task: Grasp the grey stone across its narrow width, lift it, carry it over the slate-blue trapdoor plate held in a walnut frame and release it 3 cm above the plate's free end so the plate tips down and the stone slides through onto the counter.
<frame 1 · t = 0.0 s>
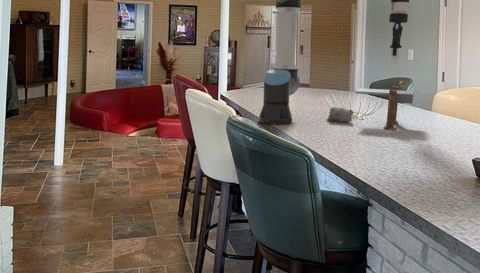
hand: (394, 63, 204), 28 cm above the kitchen island counter, fingers open, 13 cm apart
frame: (391, 125, 211), on the kitchen island counter
trapdoor: (384, 95, 209), point 14 cm above the kitchen island counter, hinge at 0.0°
stone: (339, 122, 219), on the kitchen island counter
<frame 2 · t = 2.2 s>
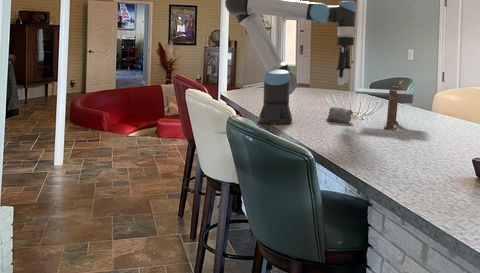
hand: (343, 83, 215), 18 cm above the kitchen island counter, fingers open, 13 cm apart
nothing on the kitchen island counter moved.
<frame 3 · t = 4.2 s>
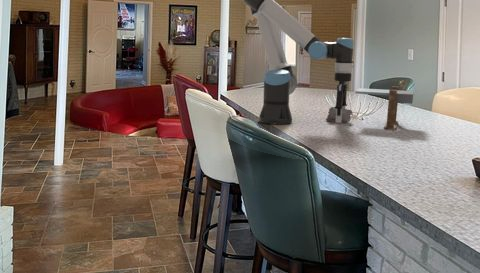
hand: (340, 121, 218), 0 cm above the kitchen island counter, fingers closed on stone, 8 cm apart
stone: (338, 122, 219), on the kitchen island counter, touching gripper
everything else where it was.
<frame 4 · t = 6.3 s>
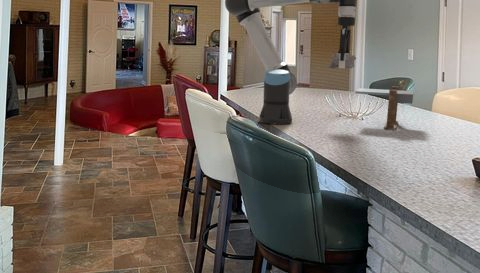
hand: (343, 67, 214), 25 cm above the kitchen island counter, fingers closed on stone, 8 cm apart
stone: (342, 69, 214), point 25 cm above the kitchen island counter, touching gripper
everything else where it was.
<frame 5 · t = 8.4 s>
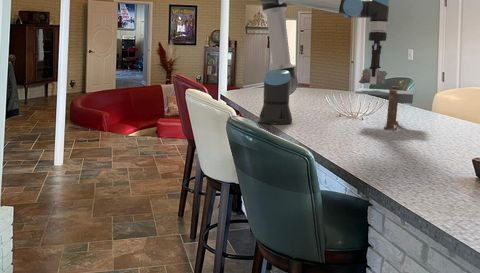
hand: (373, 83, 210), 19 cm above the kitchen island counter, fingers closed on stone, 8 cm apart
stone: (372, 84, 210), point 18 cm above the kitchen island counter, touching gripper
everything else where it was.
when the fingers open (19 cm above the kitchen island counter, at t = 8.4 s): stone drops 12 cm, point 6 cm above the kitchen island counter.
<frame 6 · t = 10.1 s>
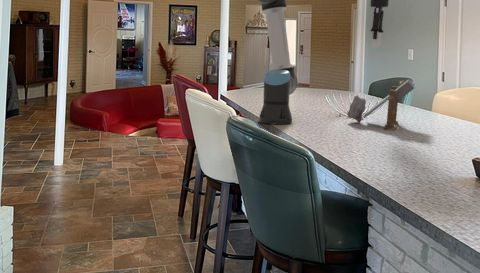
hand: (375, 47, 207), 35 cm above the kitchen island counter, fingers open, 13 cm apart
trapdoor: (389, 101, 209), point 11 cm above the kitchen island counter, hinge at -43.5°
stone: (364, 111, 214), point 6 cm above the kitchen island counter
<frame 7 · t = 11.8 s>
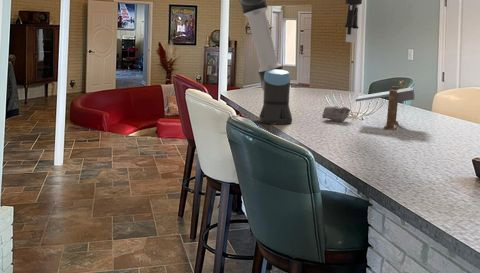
hand: (350, 42, 221), 37 cm above the kitchen island counter, fingers open, 13 cm apart
trapdoor: (385, 97, 209), point 13 cm above the kitchen island counter, hinge at -13.1°
stone: (336, 106, 219), point 7 cm above the kitchen island counter
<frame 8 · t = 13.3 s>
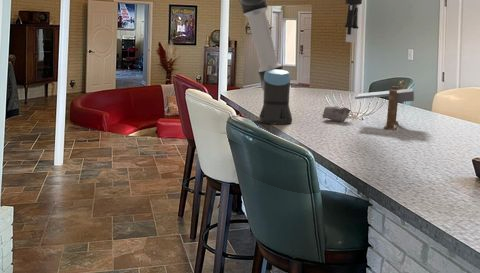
hand: (350, 42, 221), 37 cm above the kitchen island counter, fingers open, 13 cm apart
trapdoor: (385, 97, 209), point 13 cm above the kitchen island counter, hinge at -9.0°
everything else where it was.
at the end: stone point 7.1 cm above the kitchen island counter; stone inside the target area (11.2 cm from its centre), point 7.1 cm above the kitchen island counter; the gripper is holding nothing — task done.
